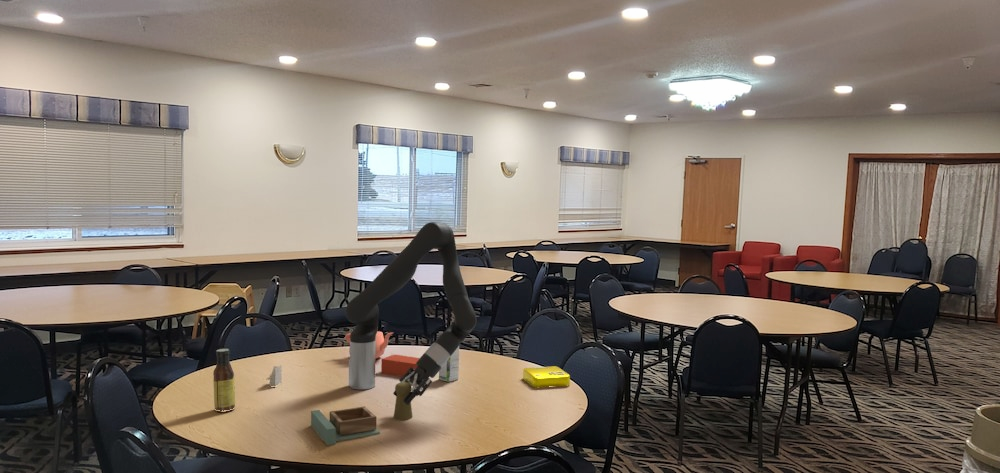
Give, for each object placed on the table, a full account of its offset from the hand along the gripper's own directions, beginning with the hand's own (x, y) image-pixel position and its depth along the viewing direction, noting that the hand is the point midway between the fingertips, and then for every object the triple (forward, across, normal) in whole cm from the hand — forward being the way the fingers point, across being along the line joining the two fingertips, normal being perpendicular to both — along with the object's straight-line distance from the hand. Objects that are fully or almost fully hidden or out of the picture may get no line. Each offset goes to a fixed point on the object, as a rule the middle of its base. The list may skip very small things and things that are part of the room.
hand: (400, 399), depth 206 cm
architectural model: (+24, -54, -15) cm, 61 cm away
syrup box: (-19, -32, +28) cm, 46 cm away
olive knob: (+4, 0, +5) cm, 6 cm away
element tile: (-41, -13, +51) cm, 67 cm away
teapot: (-7, -76, +16) cm, 78 cm away
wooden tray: (+16, +4, -8) cm, 18 cm away
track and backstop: (+17, +4, -9) cm, 20 cm away
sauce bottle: (+38, -32, -30) cm, 58 cm away
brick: (-11, -48, +20) cm, 53 cm away
